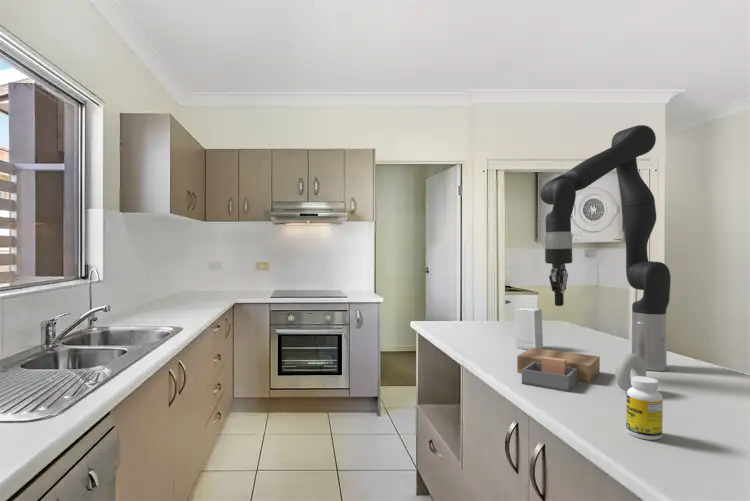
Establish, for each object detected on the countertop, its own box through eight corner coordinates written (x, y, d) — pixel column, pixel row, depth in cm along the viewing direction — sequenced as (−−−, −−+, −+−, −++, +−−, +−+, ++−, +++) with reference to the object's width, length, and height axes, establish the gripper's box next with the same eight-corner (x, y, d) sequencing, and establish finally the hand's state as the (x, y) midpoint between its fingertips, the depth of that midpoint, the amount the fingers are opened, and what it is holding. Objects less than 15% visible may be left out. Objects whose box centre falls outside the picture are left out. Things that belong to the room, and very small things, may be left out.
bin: (577, 383, 127) (577, 368, 127) (568, 392, 119) (568, 376, 119) (533, 375, 134) (533, 362, 134) (521, 383, 126) (521, 369, 126)
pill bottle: (619, 429, 95) (619, 375, 95) (647, 428, 95) (648, 374, 95) (639, 441, 88) (640, 383, 88) (669, 440, 89) (670, 383, 89)
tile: (566, 359, 127) (564, 361, 125) (566, 381, 127) (564, 383, 125) (543, 356, 130) (541, 358, 128) (543, 377, 130) (541, 379, 128)
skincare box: (543, 349, 171) (543, 309, 171) (535, 351, 167) (535, 310, 167) (522, 345, 177) (522, 306, 177) (514, 348, 173) (514, 308, 173)
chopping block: (599, 373, 138) (599, 356, 138) (589, 384, 126) (589, 365, 126) (531, 363, 149) (532, 347, 149) (517, 372, 138) (517, 355, 138)
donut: (624, 396, 116) (624, 356, 116) (612, 392, 119) (612, 353, 119) (649, 391, 120) (649, 352, 120) (636, 387, 123) (636, 350, 123)
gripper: (566, 247, 130) (567, 309, 130) (576, 247, 141) (577, 303, 141) (539, 247, 134) (540, 307, 134) (551, 247, 145) (551, 302, 145)
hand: (559, 305), depth 137 cm, fingers closed
